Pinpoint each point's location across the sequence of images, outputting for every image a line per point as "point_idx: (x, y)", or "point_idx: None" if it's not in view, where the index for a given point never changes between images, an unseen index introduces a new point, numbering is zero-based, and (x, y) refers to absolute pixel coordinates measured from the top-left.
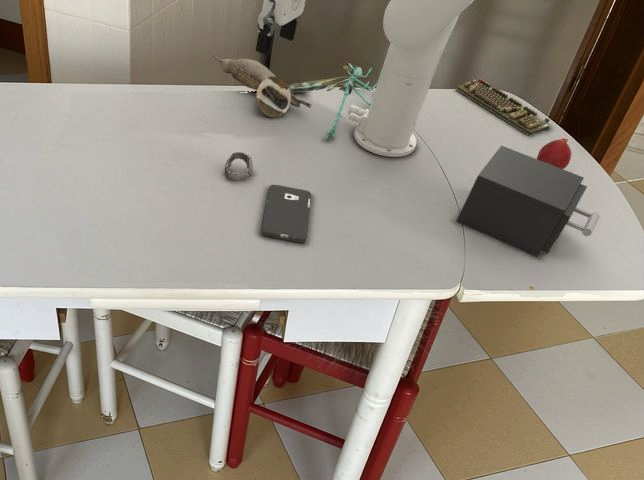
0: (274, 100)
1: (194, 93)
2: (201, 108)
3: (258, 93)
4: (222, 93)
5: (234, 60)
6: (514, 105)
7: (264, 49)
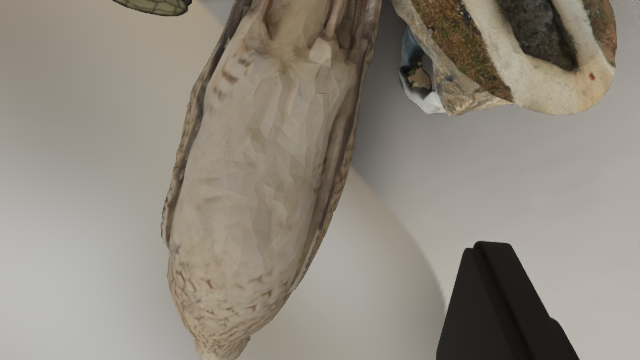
0: None
1: None
2: (625, 261)
3: (601, 77)
4: (431, 252)
5: (220, 347)
6: None
7: (557, 327)
